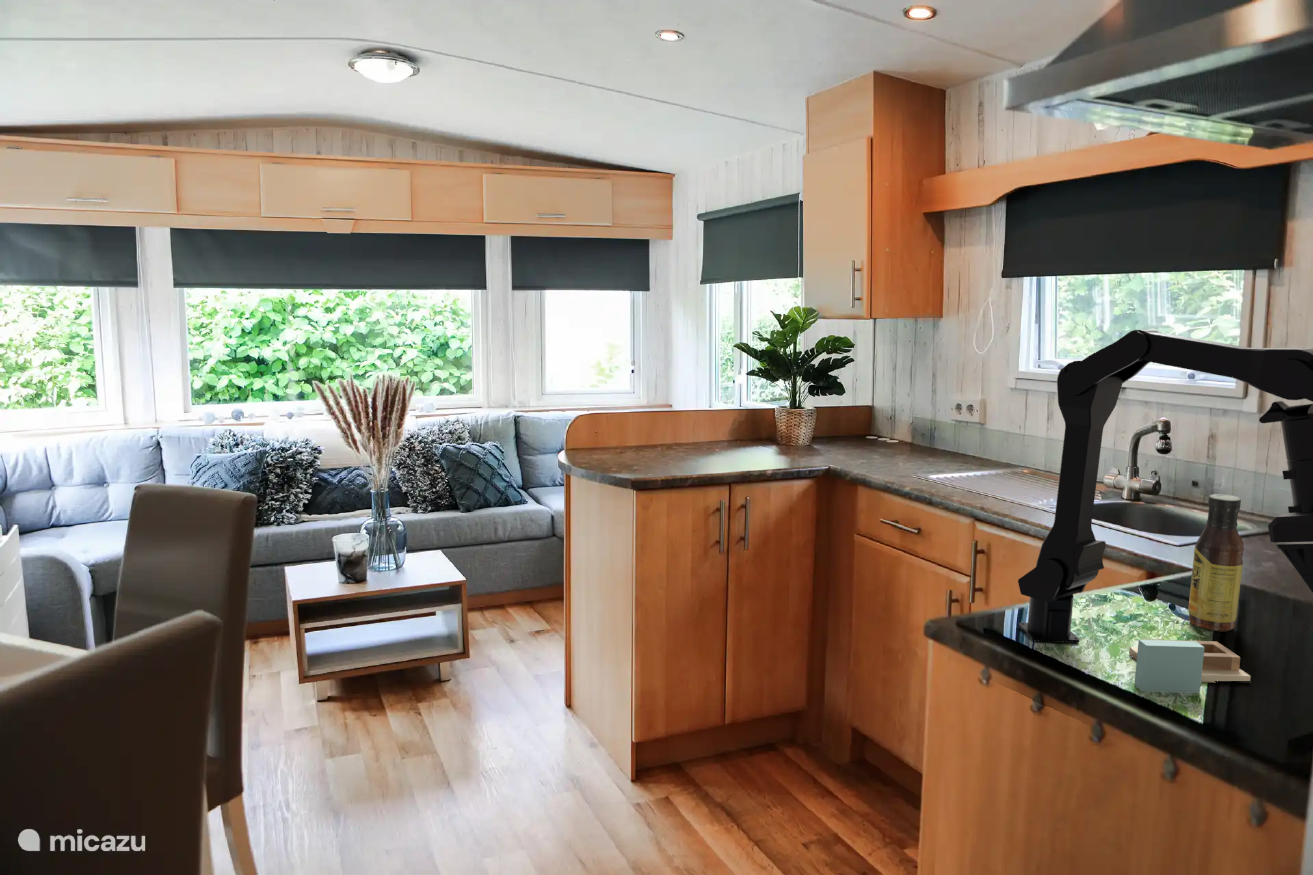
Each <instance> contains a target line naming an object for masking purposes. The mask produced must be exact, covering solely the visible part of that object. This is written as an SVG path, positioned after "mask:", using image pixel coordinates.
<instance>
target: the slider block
mask: <svg viewBox="0 0 1313 875" xmlns="http://www.w3.org/2000/svg"><path fill="white" fill-rule="evenodd" d="M1169 640H1170V639H1154V640H1140V639H1138V644H1137V647H1138V652H1137V660H1136V663H1135V673H1134V674H1135V675H1134V683H1133V684H1134V686H1135V687H1136V688H1138V690H1140V691H1141V692H1146V693H1147V692H1148V693H1150V692H1151V693H1153V692H1154V693H1176V694H1177V693H1179V694H1181V693H1182V694H1200V692H1201V684H1202V682H1201V676H1202V667H1203V657H1204V648H1205V647H1203V646H1202V645H1201V644H1199V643H1198V642H1196V641H1197V640H1186V641H1169Z"/></svg>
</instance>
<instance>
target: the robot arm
mask: <svg viewBox="0 0 1313 875" xmlns="http://www.w3.org/2000/svg"><path fill="white" fill-rule="evenodd" d="M1150 363H1154V364H1157V365H1158V364H1159V365H1164V366H1168V367H1174V368H1180V369H1184V370H1189V371H1190V370H1191V371H1196V372H1200V373H1205V374H1211V375H1216V376H1220V377H1221V376H1222V377H1226V378H1232V379H1235V380H1238V381H1241V382H1243V383H1245V384H1247V385H1249V386H1250V387H1253V388H1255V389H1257V390H1260V391H1262V392H1265V393H1268V394H1271V395H1273V396H1276V397H1277V398H1281V399H1283V400H1287V401H1300V400H1308V401H1310V402H1312V403H1308V404H1307V403H1306V404H1298V405H1297V404H1296V405H1291V406H1290V405H1289V404H1286V403H1285V402H1284V401H1282V400H1278V401H1273V402H1272V403H1271V404H1270V407H1269V408H1268V410H1266V412H1265V413H1264V414H1262V415H1261V416H1260V417H1259V419H1258V421H1259V422H1260V423H1261V424H1268V423H1279V422H1280V425H1281V430H1282V438H1283V443H1284V444H1283V445H1284V450H1285V457H1286V464H1287V469H1284V470H1282V477H1283V480H1289V484H1290V489H1291V490H1290V491H1291V497H1292V503H1293V504H1291V505H1289V506H1287V509H1288V512H1286V513H1282V514H1280V515H1278V516H1276V517H1274V518H1273V520H1271V522H1270V523H1269V524H1267V527H1268V534H1269V540H1270V542H1271V543H1273V544H1274V543H1275V545H1276V546H1275V547H1276V548H1277V549H1279V550H1280V551H1282V554H1283V555H1285V557H1286V558H1287V560H1288V561H1289V562H1290V564H1291V565H1292V566H1293V567H1294V569H1295V570H1296V571H1297V573H1298V575H1299V576H1300V577H1301V578H1302V580H1303V581H1304V583H1305V584H1306V586H1307V587H1308V588H1309V590H1310V591H1311V592H1312V594H1313V348H1311V347H1310V348H1308V347H1307V348H1306V347H1305V348H1304V347H1303V348H1301V347H1300V348H1299V347H1297V348H1296V347H1294V348H1293V347H1290V348H1289V347H1282V348H1281V347H1279V348H1278V347H1275V348H1274V347H1272V348H1271V347H1268V348H1266V347H1263V348H1262V347H1261V348H1260V347H1259V348H1258V347H1257V348H1256V347H1247V346H1241V345H1234V344H1230V343H1225V342H1224V343H1223V342H1217V341H1210V340H1206V339H1200V338H1199V339H1198V338H1194V337H1188V336H1187V337H1186V336H1182V335H1176V334H1168V333H1162V332H1160V331H1159V330H1156V329H1134V330H1133V329H1132V330H1131V331H1129V332H1127V333H1126V334H1125V335H1123V336H1121V337H1120V338H1119V339H1118V340H1116V341H1114V342H1112V343H1110V344H1109V345H1107V346H1105V347H1103V348H1101V349H1099V350H1097V351H1095V352H1093V353H1091V354H1090V355H1088V356H1086V357H1085V358H1084V359H1082V360H1073V361H1070V362H1069V363H1067V364H1066V365H1064V366H1063V368H1061V369H1060V370H1059V372H1058V374H1057V378H1056V390H1057V404H1058V407H1059V410H1060V413H1061V415H1062V419H1063V421H1064V436H1063V443H1062V444H1063V445H1062V452H1061V462H1060V469H1059V470H1060V471H1059V479H1058V488H1057V495H1056V504H1055V512H1054V520H1053V524H1052V527H1051V528H1050V530H1049V532H1048V534H1047V535H1046V537H1045V539H1044V540H1043V542H1042V544H1041V546H1040V550H1039V554H1038V557H1037V560H1036V564H1035V567H1033V568H1032V569H1031V570H1030V571H1029V572H1027V573H1025V574H1024V575H1023V576H1021V577H1020V578H1018V579H1017V583H1018V588H1019V591H1020V594H1021V595H1023V596H1025V597H1028V598H1029V604H1028V615H1027V616H1028V618H1027V622H1019V623H1018V627H1019V628H1020V629H1021V630H1022V631H1023V632H1024V633H1025V635H1027V636H1028V638H1030V639H1031V640H1032V642H1044V643H1045V642H1047V643H1048V642H1050V643H1077V644H1079V643H1080V638H1079V637H1078V636H1077V635H1076V634H1075V633H1074V632H1072V630H1071V629H1072V620H1073V618H1072V617H1073V607H1074V605H1073V604H1074V595H1075V594H1079V593H1080V594H1081V593H1083V592H1084V590H1085V588H1086V586H1087V584H1089V583H1090V582H1092V581H1094V580H1095V579H1096V578H1097V577H1098V574H1099V572H1100V570H1104V568H1105V567H1104V563H1103V562H1104V560H1103V559H1104V558H1103V555H1104V552H1105V551H1106V550H1105V549H1106V543H1107V542H1106V541H1105V540H1099V539H1098V540H1097V539H1096V537H1095V534H1094V532H1093V529H1092V523H1093V522H1092V521H1093V514H1094V508H1095V507H1094V506H1095V498H1096V491H1097V490H1096V488H1097V483H1098V473H1099V467H1100V466H1099V464H1100V457H1101V449H1102V440H1103V433H1104V428H1105V425H1106V423H1107V422H1108V420H1109V418H1110V416H1111V415H1112V412H1113V411H1114V410H1115V408H1116V406H1117V403H1118V400H1119V396H1120V393H1121V390H1122V386H1123V384H1125V383H1126V382H1128V381H1129V380H1131V379H1132V378H1134V377H1136V376H1137V375H1138V374H1139V373H1140V372H1141V371H1142V370H1143V369H1144V368H1145V367H1147V365H1149V364H1150Z"/></svg>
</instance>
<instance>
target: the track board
mask: <svg viewBox="0 0 1313 875" xmlns="http://www.w3.org/2000/svg"><path fill="white" fill-rule="evenodd" d="M1139 640H1155V639H1150V638H1149V639H1148V638H1140V639H1139ZM1168 640H1169V641H1187V640H1184V639H1183V640H1180V639H1178V640H1177V639H1168ZM1195 641H1196V642H1198V643H1199V644H1201V645H1202V646H1203V647H1205V648H1204V657H1203V667H1202V676H1201V683H1216V682H1215V681H1217V682H1218V681H1250V682H1251V675H1250V674H1249V673H1247V672H1245V670H1242V669H1241V668H1240V663H1241V657H1240V656H1239V655H1237V654H1236V653H1235V652H1233V651H1232V650H1230V649H1229V648H1227V647H1226V646H1224V645H1223V644H1221V643H1219V642H1218V641H1217V640H1216V641H1214V640H1212V641H1210V640H1207V641H1206V640H1195ZM1128 651H1129V652H1128V655H1129V656H1131V657H1132V656H1133V657H1132V658H1133V659H1134V658H1135V659H1134V660H1136V661H1137V652H1138V646H1136V647H1135V646H1130V647H1129V650H1128Z"/></svg>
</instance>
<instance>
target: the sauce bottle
mask: <svg viewBox="0 0 1313 875" xmlns="http://www.w3.org/2000/svg"><path fill="white" fill-rule="evenodd" d="M1241 502H1242V501H1241V497H1239V496H1236V495H1231V494H1224V493H1223V494H1221V493H1220V494H1219V493H1214V494H1209V496H1208V501H1207V505H1208V512H1207V513H1208V514H1207V519H1206V524H1205V526H1204V528H1203V530H1202V532H1201V534H1200V535H1199V537H1198V539H1197V541H1196V543H1195V544H1194V552H1193V561H1192V569H1191V570H1192V571H1191V579H1190V590H1189V597H1188V598H1189V601H1188V610H1187V612H1188V620H1189V622H1190V623H1191V625H1192V626H1194V627H1196V628H1200V629H1204V630H1209V631H1215V632H1218V633H1219V632H1222V633H1223V632H1224V633H1225V632H1228V631H1231V630H1233V629H1234V628H1235V627H1236V621H1237V617H1238V616H1237V615H1238V608H1239V600H1240V590H1241V582H1242V574H1243V564H1244V561H1243V555H1244V551H1245V550H1244V549H1245V548H1244V544H1245V543H1244V541H1243V538H1242V536H1241V535H1240V534H1239V531H1238V530H1237V527H1238V524H1239V523H1238V516H1239V511H1240V509H1241Z"/></svg>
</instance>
